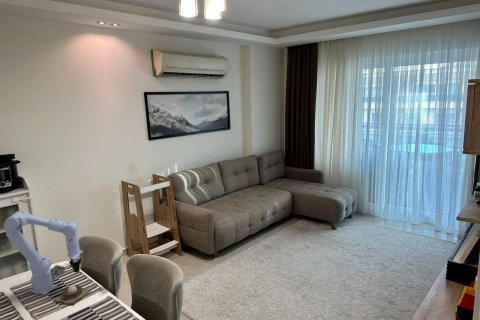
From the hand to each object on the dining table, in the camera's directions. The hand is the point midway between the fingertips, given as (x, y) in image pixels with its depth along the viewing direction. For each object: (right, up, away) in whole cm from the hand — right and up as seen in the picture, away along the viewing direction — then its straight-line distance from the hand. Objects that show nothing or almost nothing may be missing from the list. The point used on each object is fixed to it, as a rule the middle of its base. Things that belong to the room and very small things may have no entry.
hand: (76, 268), depth 170 cm
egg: (+3, -8, -9) cm, 12 cm away
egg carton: (-18, -8, +12) cm, 24 cm away
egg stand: (+2, -11, -8) cm, 14 cm away
